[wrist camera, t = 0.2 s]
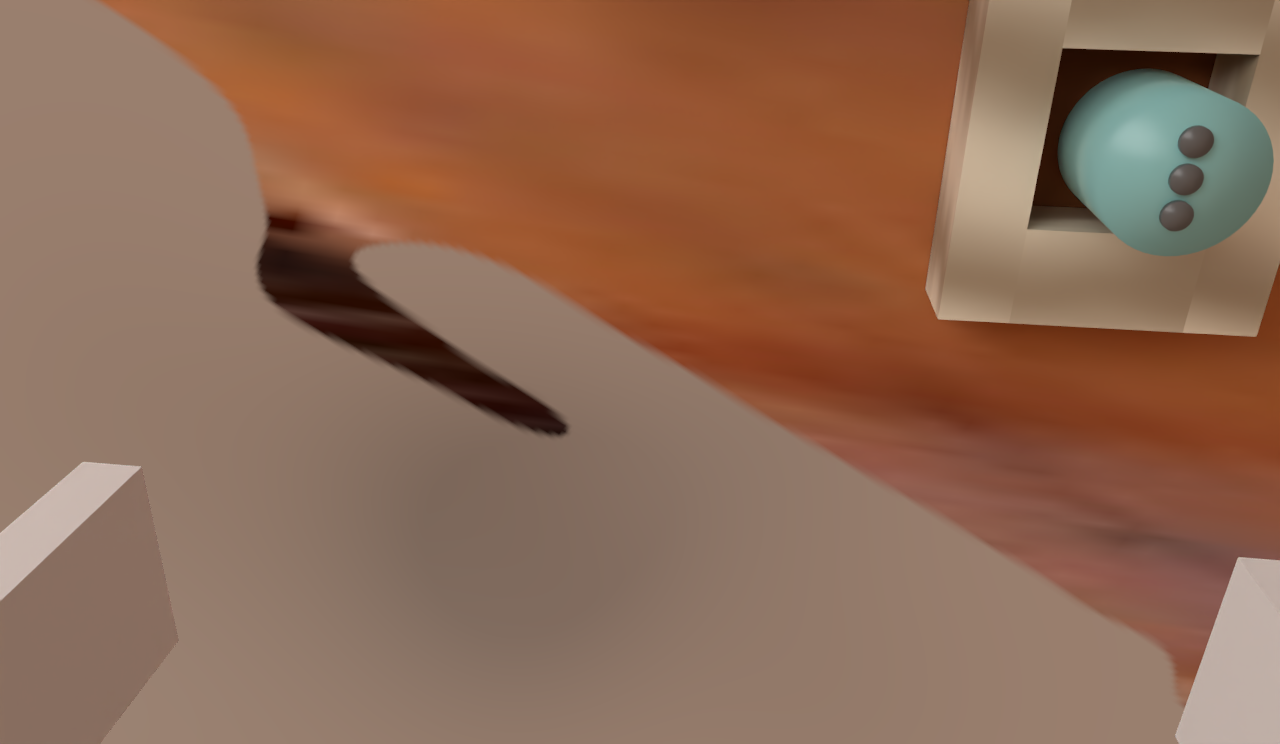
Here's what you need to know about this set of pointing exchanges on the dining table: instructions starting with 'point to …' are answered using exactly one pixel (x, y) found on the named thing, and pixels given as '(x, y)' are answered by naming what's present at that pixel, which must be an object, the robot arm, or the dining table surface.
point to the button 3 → (1165, 161)
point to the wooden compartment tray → (1074, 237)
